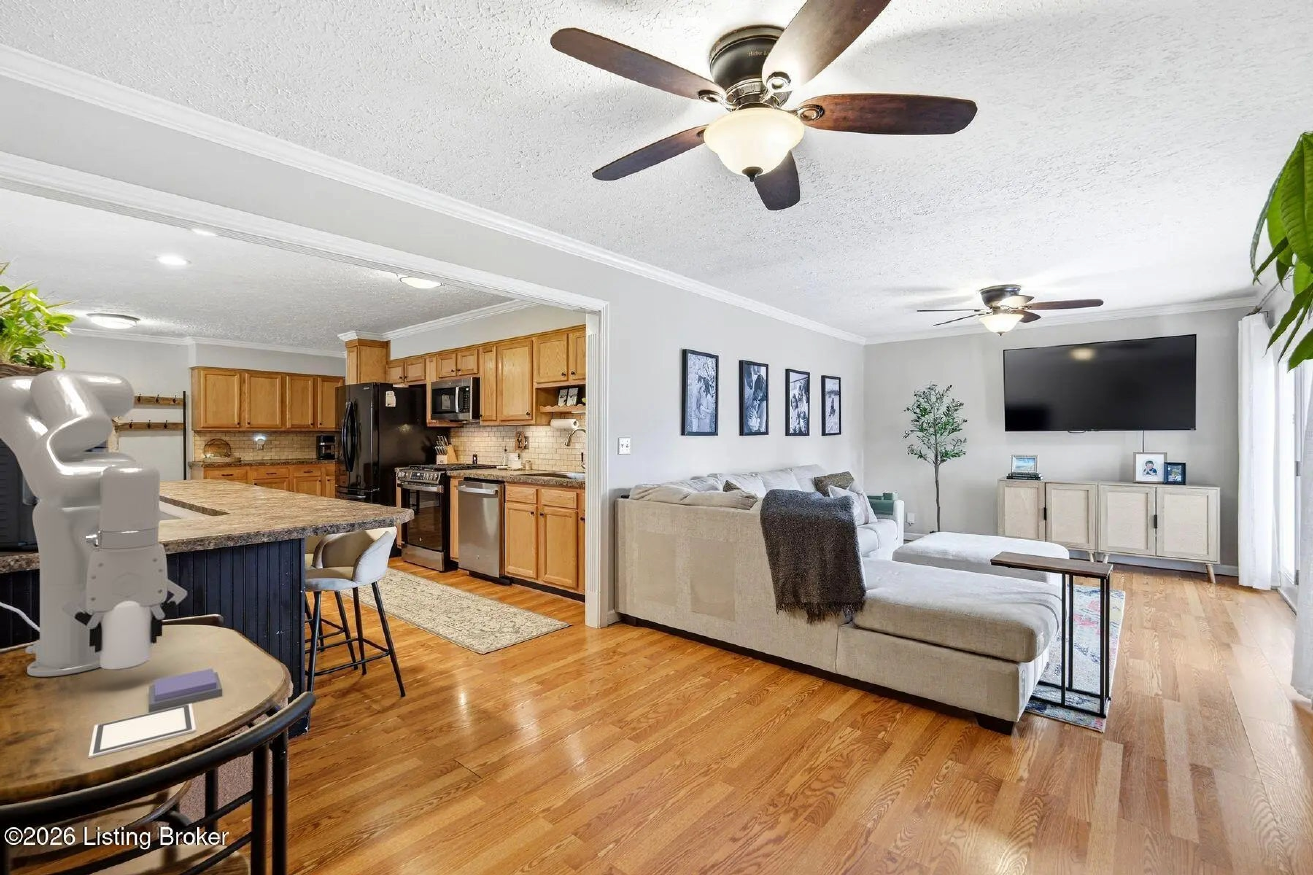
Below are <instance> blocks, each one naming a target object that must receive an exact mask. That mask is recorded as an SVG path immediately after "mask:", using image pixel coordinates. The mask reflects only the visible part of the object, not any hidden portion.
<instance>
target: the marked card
mask: <svg viewBox="0 0 1313 875" xmlns="http://www.w3.org/2000/svg"><path fill="white" fill-rule="evenodd" d="M92 731H93V732H92V735H91V736H92V737H91V741H90V748H89V752H88V759H93V758H97V757H101V756H104V755H108V754H111V753H112V754H113V753H116V752H120V751H125V750H129V749H132V748H136V747H141V746H144V745H149V744H152V743H157V742H160V741H164V740H168V739H172V738H176V737H181V736H185V735H188V734H191V733H196V732H197V731H196V723H195V717H194V711H193V703H189V704H185V705H180V706H176V707H172V708H167V709H163V710H158V711H154V712H147V713H143V714H139V715H133V716H129V717H125V718H120V719H117V720H112V721H108V722H103V723H98V724H94V727H93V730H92Z"/></svg>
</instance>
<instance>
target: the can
mask: <svg viewBox="0 0 1313 875" xmlns="http://www.w3.org/2000/svg"><path fill="white" fill-rule="evenodd" d="M127 597H130V596H127ZM152 617H153V612H152V610H151V609H150V607H140V605H139V604H138V603H136V602H134V601H124V602H122V603H120V604H118V605H117V606H115V608H114V610H112V611H110V612H103V616H102V618H101V651H100V666H101V667H100V668H102V669H103V670H104V671H105V670H106V671H120V670H121V671H122V670H127V669H128V670H129V669H132V668H137V667H139V666H142V665H144V664H146V663H147V662H149V660H150V659H151V658H152V644H153V643H151V632H152Z"/></svg>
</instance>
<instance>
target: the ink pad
mask: <svg viewBox="0 0 1313 875" xmlns="http://www.w3.org/2000/svg"><path fill="white" fill-rule="evenodd" d="M220 679H221V678H220V676H219V673H218V671H216V672H214V669H213V668H208V669H203V670H197V671H193V672H188V673H184V674H179V675H174V676H168V677H162V678H158V679H154V684H152V685H148V713H151V712H156V711H160V710H164V709H169V708H173V707H178V706H182V705H187V704H191V703H192V704H193V703H198V702H203V701H206V700H210V699H216V698H220V697H223V687H222V684H221V680H220ZM197 701H198V702H197Z"/></svg>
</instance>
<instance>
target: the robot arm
mask: <svg viewBox="0 0 1313 875" xmlns="http://www.w3.org/2000/svg"><path fill="white" fill-rule="evenodd" d="M134 404H135V391H134V388H133V387H132V385H131V383H130V381H129V380H128V379H126V378H125V377H124V376H122V375H120V374H117V373H116V374H115V373H110V372H97V371H87V370H86V371H84V370H71V369H53V370H47V371H45V372H41V373H40V374H38V375H36V376H34V375H18V376H17V375H16V376H15V375H14V376H5V377H1V378H0V439H1V441H2V442H4V443H5V445H6V446H7V447H9V449H10V450H11V451H12V452H13V453H14V455H15V457H16V460H17V462H18V464H19V467H20V469H21V471H22V474H23V476H24V478H25V481H26V483H27V485H28V487H29V489H30V491H31V492H32V494H33V495H34V496H35V497H36V498H38V499H39V500H40V501H39V502H38V503H37V504H36V505H35V506H34V508H33V510H32V524H33V529H34V534H35V538H36V543H37V548H38V549H37V550H38V556H39V557H38V558H39V639H37V640H35V642H34V643H33V644H32V645H28V646H27V647H26V648H25V651H24V652H25V654H27V655H28V654H32V655H34V654H35V660H34V661H33V662H31V663H30V664H29V665H27V669H26V670H27V671H26V672H27V675H29V676H32V677H38V678H39V677H43V678H45V677H57V676H65V675H73V674H77V673H81V672H87V671H91V670H94V669H98V668H102V667H101V666H100V651H101V618H102V616H103V612H110V611H112V610H114V608H115V606H117V605H118V604H120V603H122V602H124V601H134V602H136V603H138V604H139V605H140V607H150V609H151V610H152V632H151V643H152V644H157V640H158V638H157V637H162V636H163V619H164V618H165V617H166V615H168V613H170V612H171V611H172V610H173V609H174V608H175V607H176V606H177V605H178V604H180V603H181V602H182V601H183V600H184V599H185V598H186V597H187V596H188V591H187V590H185V589H184V588H183V587H181V586H179V585H178V584H176V583H175V582H173V581H172V580H170V579H168V565H167V564H168V563H167V555H166V550H165V546H164V544H162V543H159V531H160V530H159V529H160V528H159V523H160V521H161V509H160V487H161V486H160V484H161V479H160V478H161V476H160V474H161V473H160V471H159V469H158V468H156V467H155V466H153V465H152V466H151V465H146V464H144V463H141V462H138V461H136V459H135V458H133V456H131V455H129V454H126V453H123V452H116V451H112V452H111V451H105V452H104V451H100V452H99V451H97V452H96V451H95V452H94V451H90V452H89V451H87V450H91V449H93V448H95V447H97V446H100V445H102V444H103V443H104V442H105V441H107V440H108V439H109V438H110V436H111V435H112V434H113V432H114V431H113V430H114V424H113V422H112V419H114V418H119V417H123V416H125V415H127V414H129V412H130V411H131V410H133V407H134ZM95 545H97V547H96V546H95ZM168 592H170V593H172V594H173V596H172V597H171V598H170V599H169V600H167V597H168ZM127 596H130V597H127ZM166 600H167V601H166ZM165 601H166V602H165ZM162 603H163V604H162Z"/></svg>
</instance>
